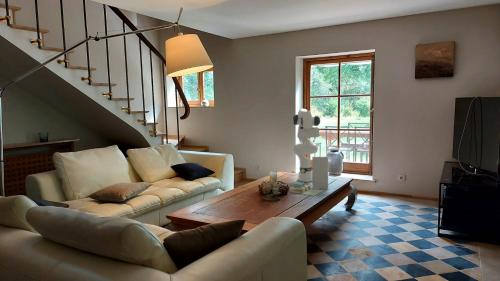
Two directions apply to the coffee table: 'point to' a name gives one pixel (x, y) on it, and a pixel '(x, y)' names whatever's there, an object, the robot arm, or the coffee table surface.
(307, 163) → the robot arm
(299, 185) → the coaster
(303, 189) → the riser
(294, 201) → the coffee table surface
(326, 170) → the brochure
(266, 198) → the owl figurine
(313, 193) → the mat
